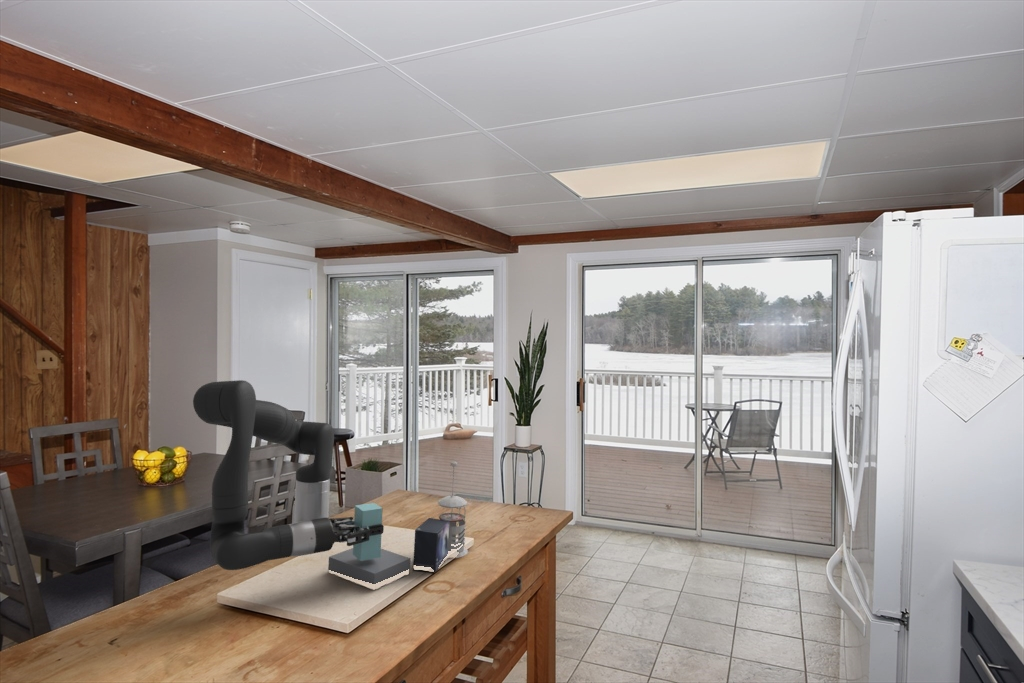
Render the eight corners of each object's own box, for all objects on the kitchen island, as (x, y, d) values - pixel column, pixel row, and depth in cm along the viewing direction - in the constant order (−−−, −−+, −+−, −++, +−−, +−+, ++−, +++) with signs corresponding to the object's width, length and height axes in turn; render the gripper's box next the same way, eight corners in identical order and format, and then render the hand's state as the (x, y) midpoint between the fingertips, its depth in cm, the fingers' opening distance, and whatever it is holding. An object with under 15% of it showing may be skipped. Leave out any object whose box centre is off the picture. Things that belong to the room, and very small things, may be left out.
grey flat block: (328, 572, 147) (328, 556, 147) (364, 558, 157) (365, 543, 157) (374, 590, 138) (374, 573, 138) (409, 574, 148) (410, 558, 148)
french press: (425, 554, 161) (429, 462, 161) (446, 540, 172) (449, 454, 172) (458, 560, 158) (461, 467, 157) (476, 546, 168) (480, 459, 168)
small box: (436, 574, 149) (438, 532, 149) (411, 571, 150) (413, 529, 150) (449, 558, 159) (450, 519, 159) (426, 555, 160) (427, 517, 160)
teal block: (352, 554, 145) (354, 505, 145) (372, 550, 148) (374, 502, 148) (360, 561, 141) (363, 511, 141) (380, 557, 144) (382, 508, 144)
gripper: (320, 530, 130) (391, 518, 141) (299, 512, 142) (367, 502, 152) (318, 564, 131) (390, 549, 141) (298, 543, 142) (365, 531, 152)
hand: (377, 525), depth 146 cm, fingers closed on teal block, 5 cm apart
